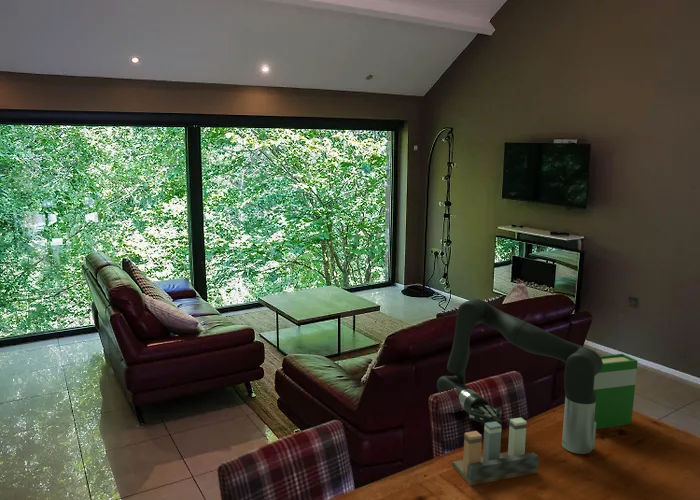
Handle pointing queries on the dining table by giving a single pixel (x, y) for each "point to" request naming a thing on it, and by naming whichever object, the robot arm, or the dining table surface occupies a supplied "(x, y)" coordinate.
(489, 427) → the slate key
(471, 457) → the tan tall block
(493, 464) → the dark grey block stand
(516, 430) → the white tall block
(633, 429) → the dining table surface
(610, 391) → the hardback book
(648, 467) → the dining table surface
